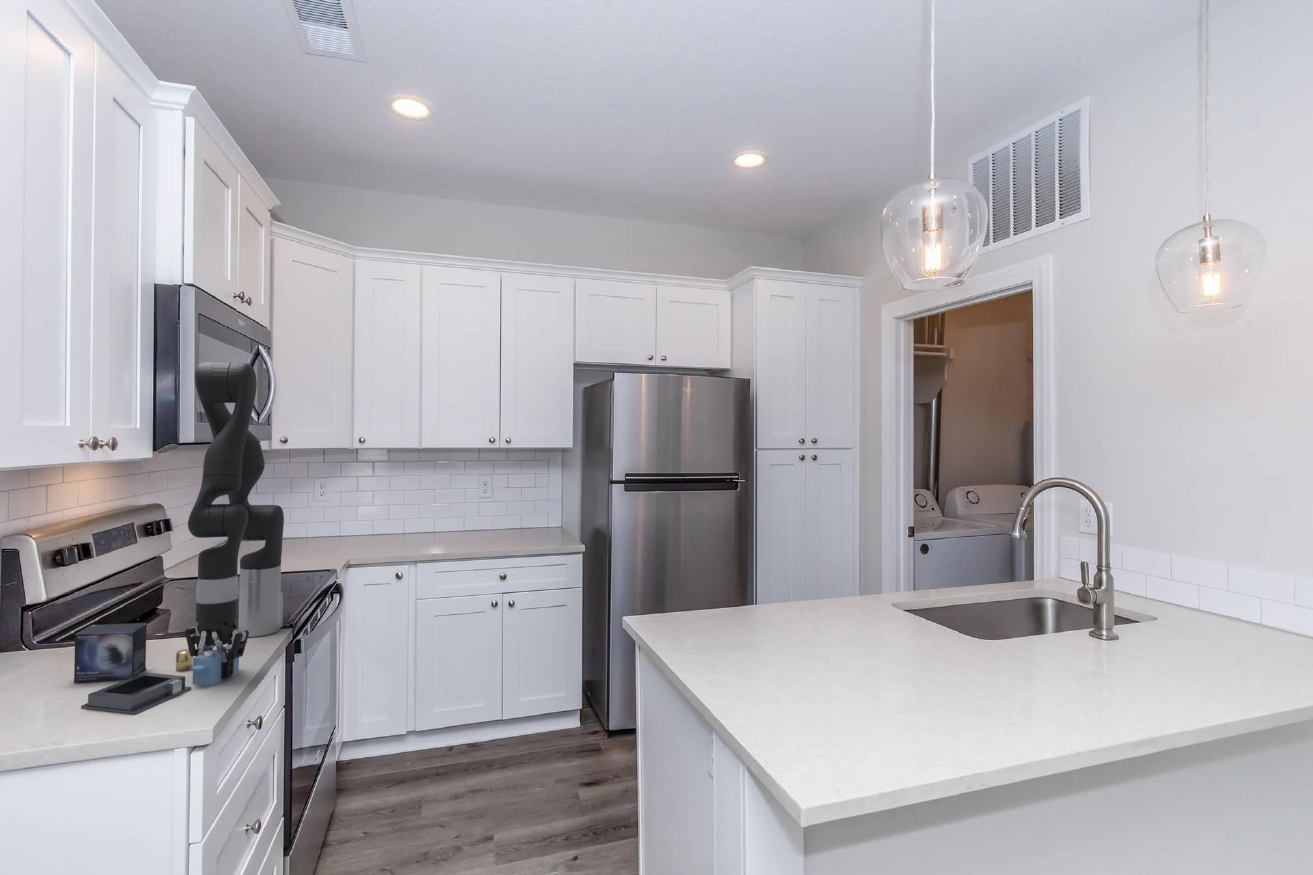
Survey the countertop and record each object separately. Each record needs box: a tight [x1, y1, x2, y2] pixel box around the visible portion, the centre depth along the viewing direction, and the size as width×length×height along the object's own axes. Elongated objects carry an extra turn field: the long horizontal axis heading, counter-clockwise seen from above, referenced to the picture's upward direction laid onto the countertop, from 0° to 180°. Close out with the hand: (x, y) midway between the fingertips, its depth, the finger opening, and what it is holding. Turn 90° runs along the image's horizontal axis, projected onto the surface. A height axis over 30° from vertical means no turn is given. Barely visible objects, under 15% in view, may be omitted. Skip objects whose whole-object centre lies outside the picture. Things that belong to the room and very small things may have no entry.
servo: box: [189, 648, 240, 687], centre depth 138 cm, size 10×4×6 cm, turn 170°
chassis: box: [80, 671, 192, 716], centre depth 127 cm, size 12×12×3 cm
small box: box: [73, 622, 148, 684], centre depth 137 cm, size 11×6×10 cm, turn 105°
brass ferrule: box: [175, 648, 194, 673], centre depth 143 cm, size 3×3×4 cm
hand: (216, 676), depth 138 cm, fingers closed on servo, 4 cm apart
